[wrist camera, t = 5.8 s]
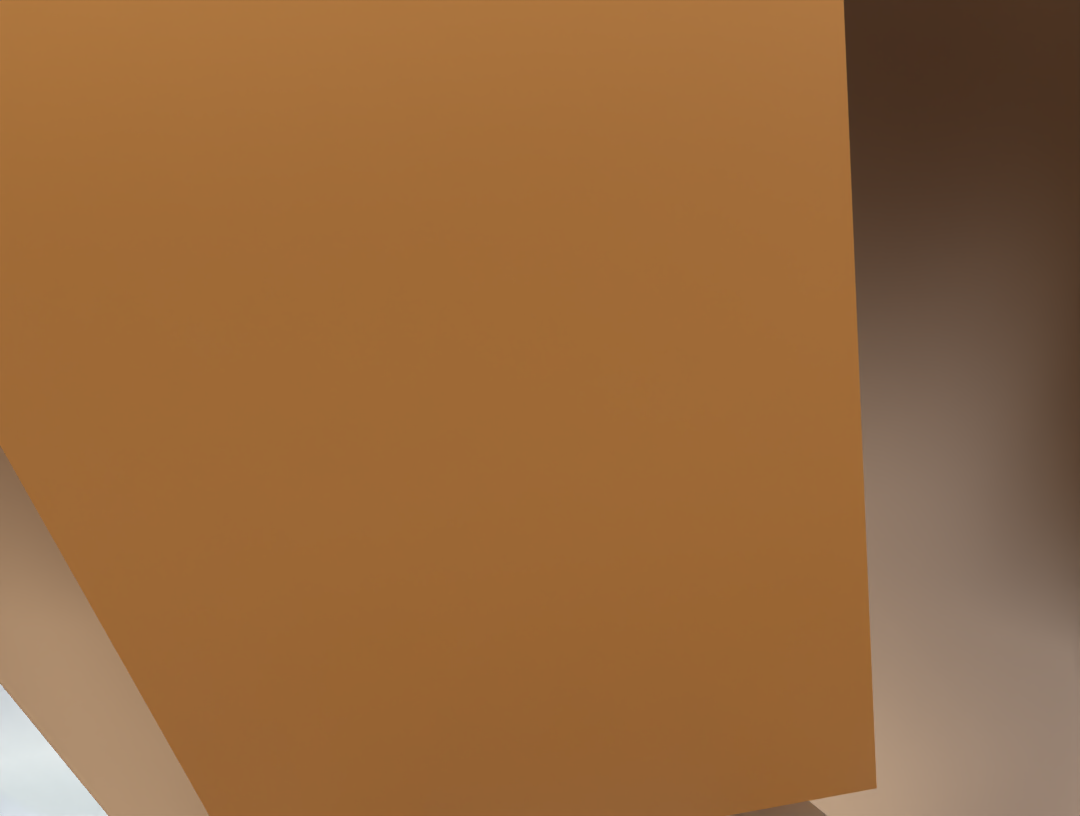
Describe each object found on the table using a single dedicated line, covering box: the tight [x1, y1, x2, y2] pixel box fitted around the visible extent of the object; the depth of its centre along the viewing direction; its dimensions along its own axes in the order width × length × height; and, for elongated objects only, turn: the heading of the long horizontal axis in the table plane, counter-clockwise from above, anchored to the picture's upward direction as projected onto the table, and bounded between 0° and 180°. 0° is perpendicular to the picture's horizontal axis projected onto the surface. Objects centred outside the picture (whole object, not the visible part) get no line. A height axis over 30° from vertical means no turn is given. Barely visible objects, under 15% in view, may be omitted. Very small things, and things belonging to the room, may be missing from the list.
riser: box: [0, 0, 1080, 816], centre depth 12 cm, size 21×14×4 cm, turn 107°
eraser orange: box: [0, 0, 877, 816], centre depth 6 cm, size 5×10×4 cm, turn 12°
